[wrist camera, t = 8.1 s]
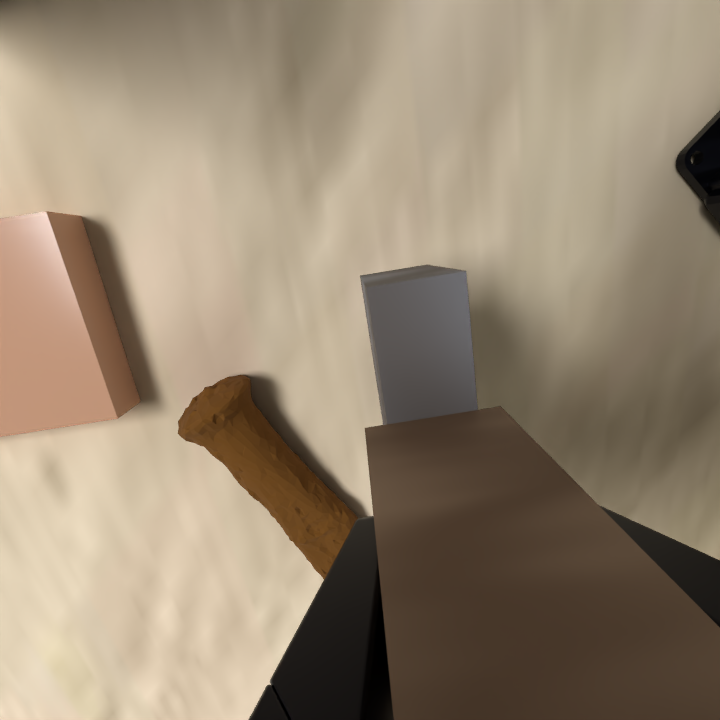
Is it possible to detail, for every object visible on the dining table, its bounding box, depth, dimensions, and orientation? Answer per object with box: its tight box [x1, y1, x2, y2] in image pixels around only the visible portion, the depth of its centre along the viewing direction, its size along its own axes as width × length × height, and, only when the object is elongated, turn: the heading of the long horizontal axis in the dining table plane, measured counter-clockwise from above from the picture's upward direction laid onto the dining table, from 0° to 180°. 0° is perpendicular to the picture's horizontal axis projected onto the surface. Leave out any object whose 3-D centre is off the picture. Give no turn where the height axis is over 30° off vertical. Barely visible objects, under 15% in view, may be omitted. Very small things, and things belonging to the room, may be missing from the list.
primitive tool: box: [178, 375, 359, 579], centre depth 19 cm, size 19×6×4 cm, turn 36°
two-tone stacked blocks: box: [360, 265, 720, 720], centre depth 8 cm, size 3×9×10 cm, turn 9°
